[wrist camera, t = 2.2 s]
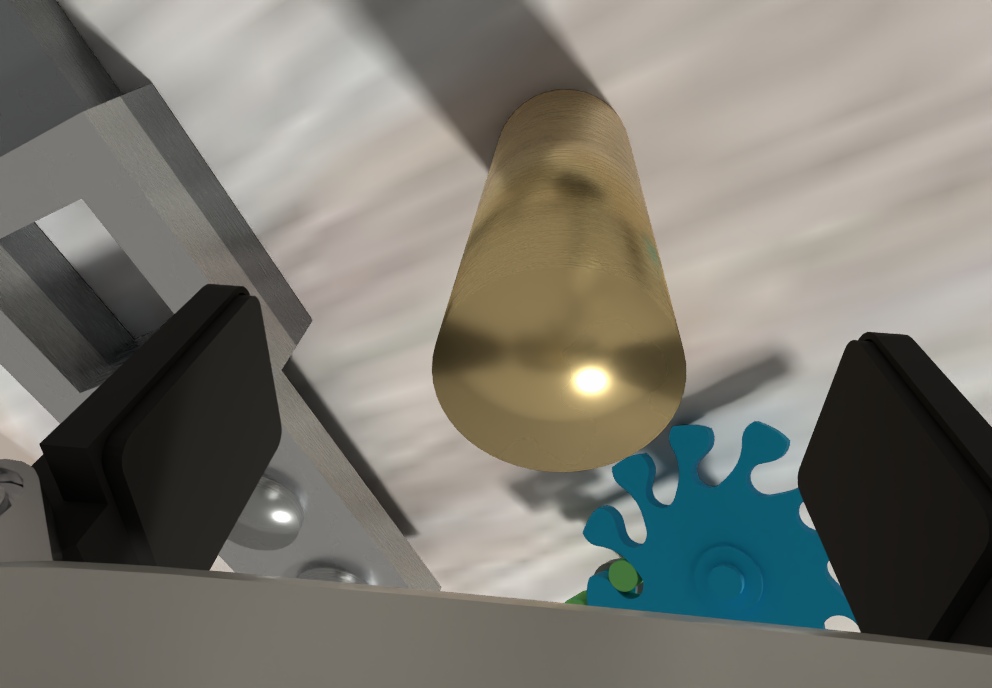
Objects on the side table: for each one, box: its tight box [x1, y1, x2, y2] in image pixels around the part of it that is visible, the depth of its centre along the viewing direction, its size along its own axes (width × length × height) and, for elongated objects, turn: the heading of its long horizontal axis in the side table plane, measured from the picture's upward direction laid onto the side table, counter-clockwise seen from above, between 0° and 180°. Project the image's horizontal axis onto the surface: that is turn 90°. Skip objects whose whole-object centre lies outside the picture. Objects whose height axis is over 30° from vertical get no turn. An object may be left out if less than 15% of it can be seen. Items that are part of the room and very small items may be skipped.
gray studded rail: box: [0, 0, 441, 591], centre depth 19 cm, size 32×8×4 cm, turn 24°
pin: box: [432, 89, 686, 472], centre depth 13 cm, size 4×4×10 cm
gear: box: [565, 421, 858, 629], centre depth 23 cm, size 11×6×10 cm
